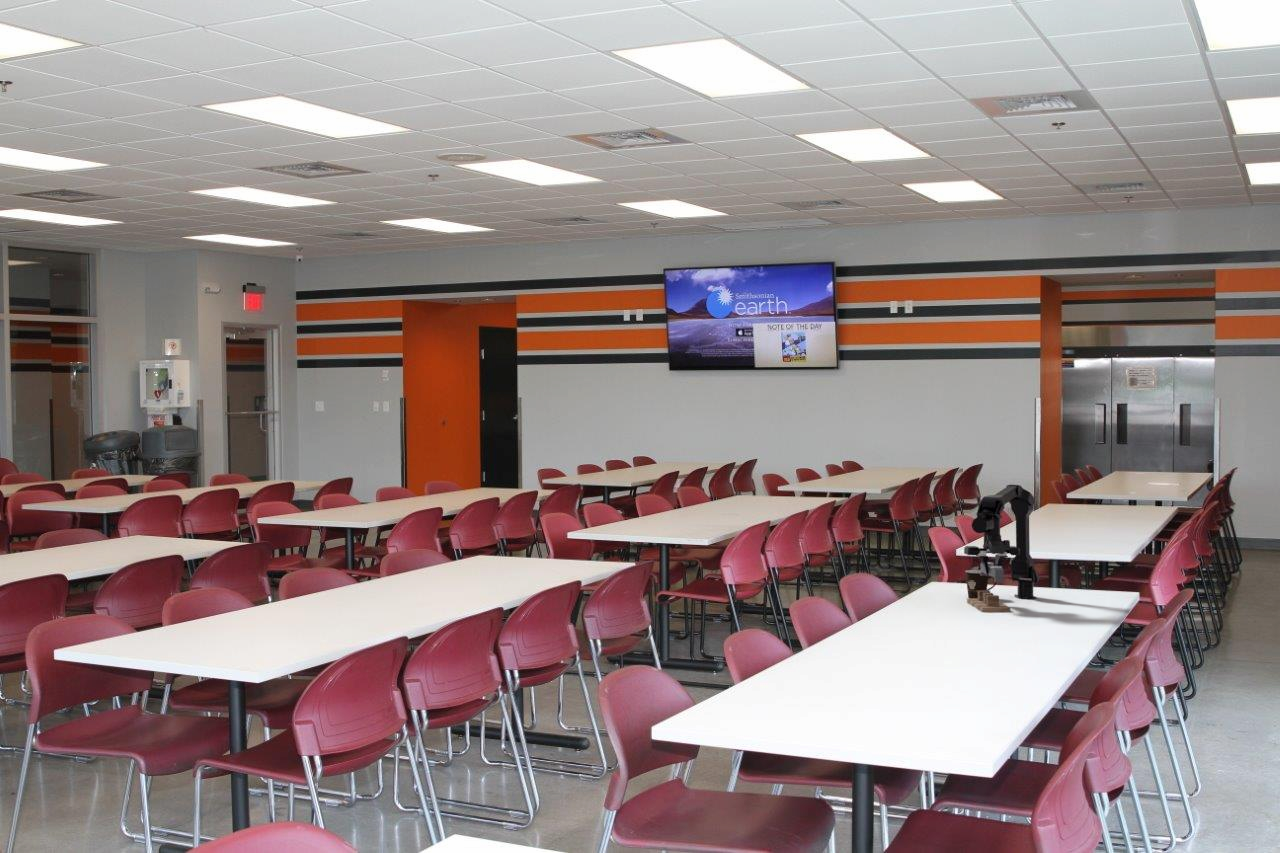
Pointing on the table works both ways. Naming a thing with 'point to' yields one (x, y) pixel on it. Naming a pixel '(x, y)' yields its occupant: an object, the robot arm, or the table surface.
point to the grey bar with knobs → (993, 572)
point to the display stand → (988, 603)
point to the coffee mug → (976, 583)
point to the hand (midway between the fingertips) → (991, 574)
